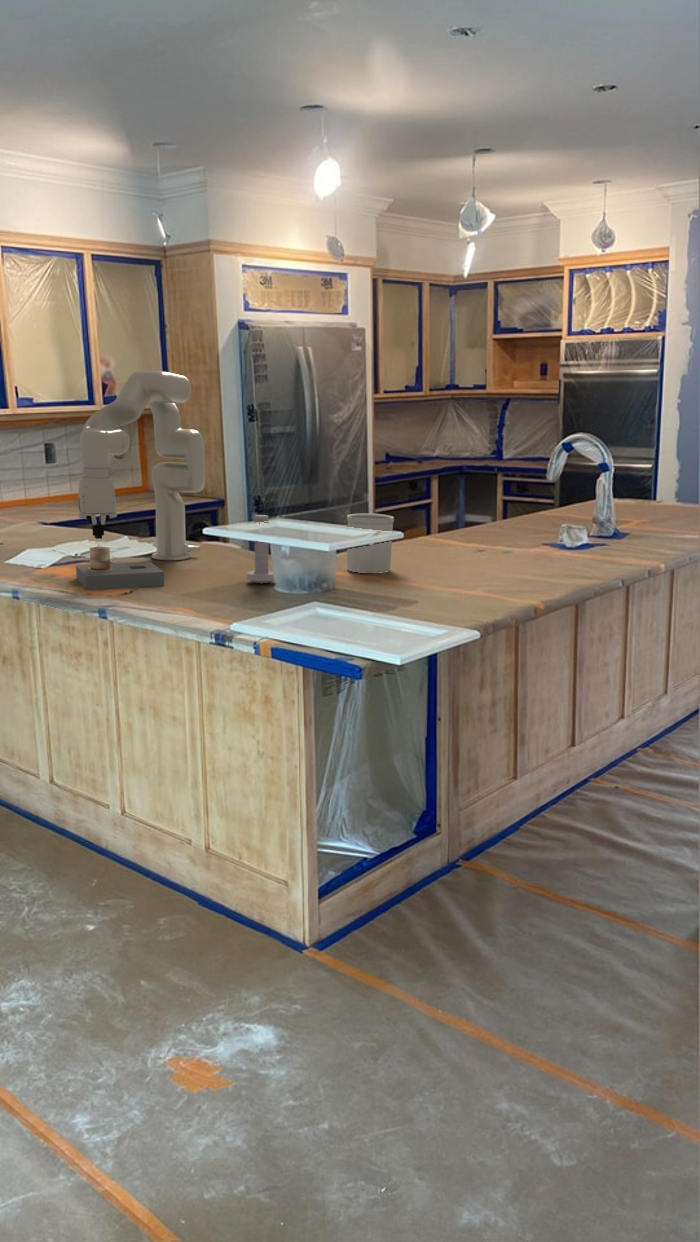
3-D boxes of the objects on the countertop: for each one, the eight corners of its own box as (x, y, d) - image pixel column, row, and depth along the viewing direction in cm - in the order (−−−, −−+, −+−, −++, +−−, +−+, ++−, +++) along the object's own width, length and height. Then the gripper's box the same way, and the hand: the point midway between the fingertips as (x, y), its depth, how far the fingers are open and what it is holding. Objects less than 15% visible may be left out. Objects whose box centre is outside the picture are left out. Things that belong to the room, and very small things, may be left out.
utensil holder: (375, 565, 330) (376, 511, 326) (401, 572, 318) (403, 517, 314) (337, 568, 322) (338, 514, 318) (362, 576, 310) (363, 520, 306)
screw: (281, 583, 297) (282, 516, 292) (258, 586, 291) (258, 518, 287) (264, 579, 303) (264, 512, 298) (241, 582, 297) (241, 514, 293)
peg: (109, 578, 296) (107, 546, 293) (112, 582, 291) (111, 549, 288) (89, 579, 293) (88, 547, 291) (92, 583, 288) (91, 550, 286)
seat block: (150, 574, 307) (149, 560, 306) (163, 585, 291) (163, 571, 290) (76, 578, 298) (75, 564, 297) (86, 590, 282) (85, 575, 281)
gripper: (120, 472, 291) (122, 535, 295) (67, 473, 285) (69, 537, 289) (125, 474, 284) (127, 539, 288) (71, 475, 278) (73, 541, 283)
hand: (98, 538), depth 289 cm, fingers closed
